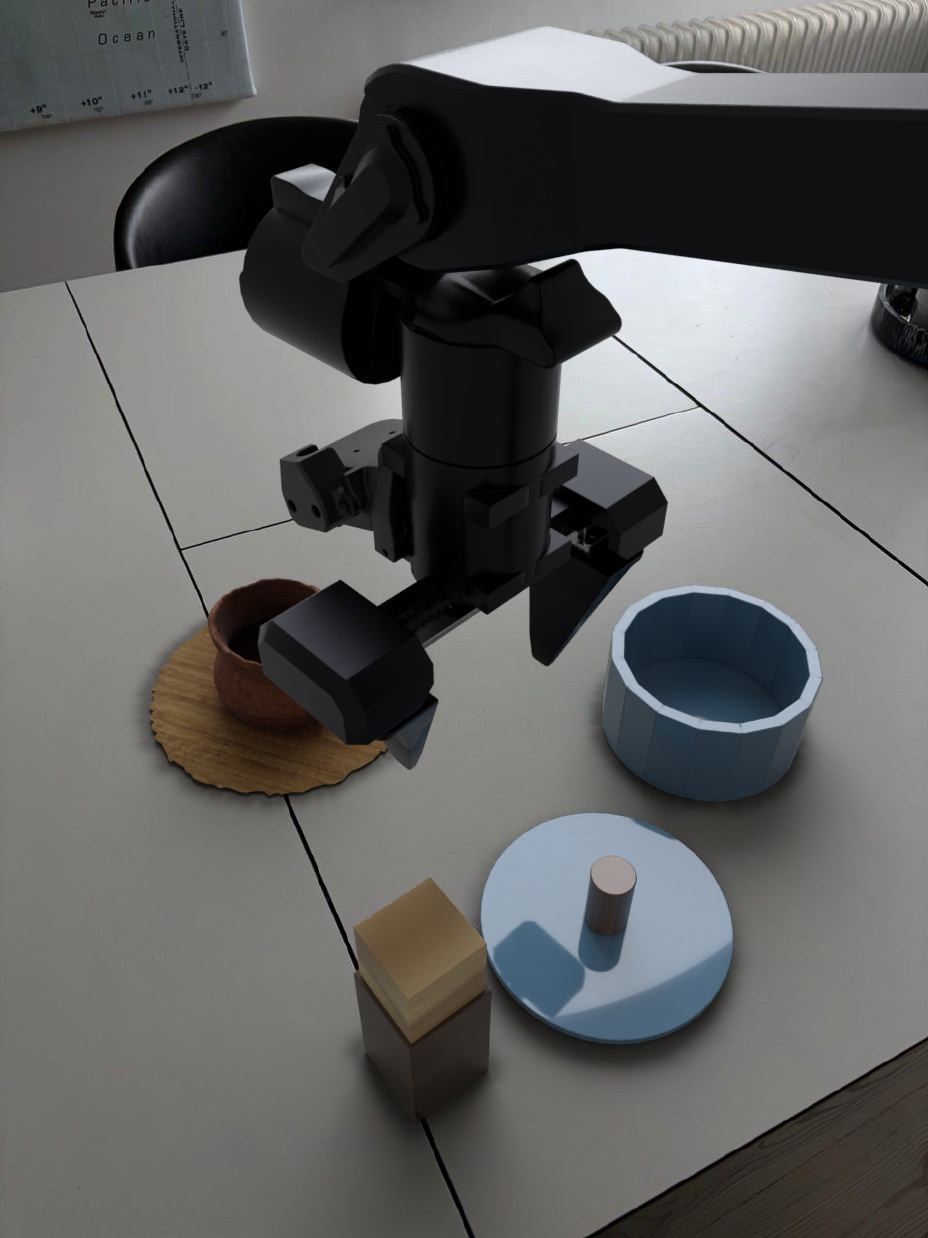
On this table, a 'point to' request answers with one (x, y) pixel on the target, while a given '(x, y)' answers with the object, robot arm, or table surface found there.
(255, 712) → the ceramic pot
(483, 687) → the table surface
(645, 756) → the bowl
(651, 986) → the bowl lid
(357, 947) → the block
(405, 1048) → the stand
